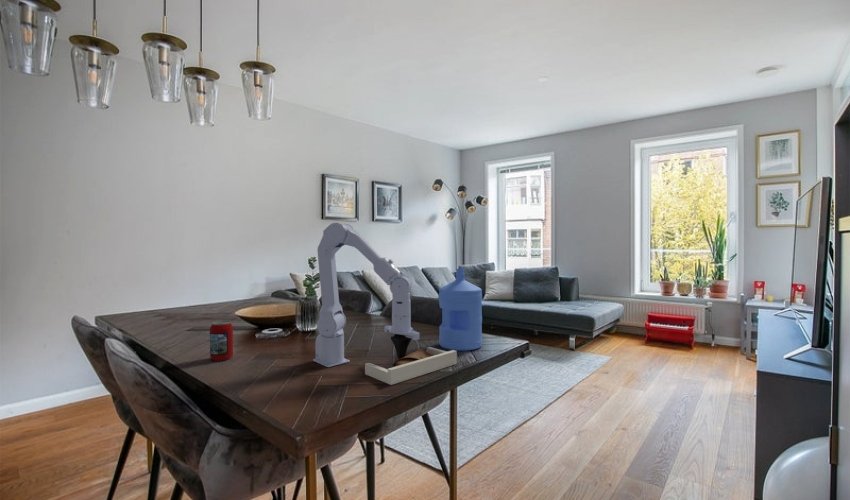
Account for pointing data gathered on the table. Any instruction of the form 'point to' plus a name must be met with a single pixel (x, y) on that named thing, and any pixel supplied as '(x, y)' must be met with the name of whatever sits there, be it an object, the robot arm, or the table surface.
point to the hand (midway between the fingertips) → (401, 358)
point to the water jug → (460, 314)
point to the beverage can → (221, 340)
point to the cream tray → (413, 367)
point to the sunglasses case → (413, 357)
